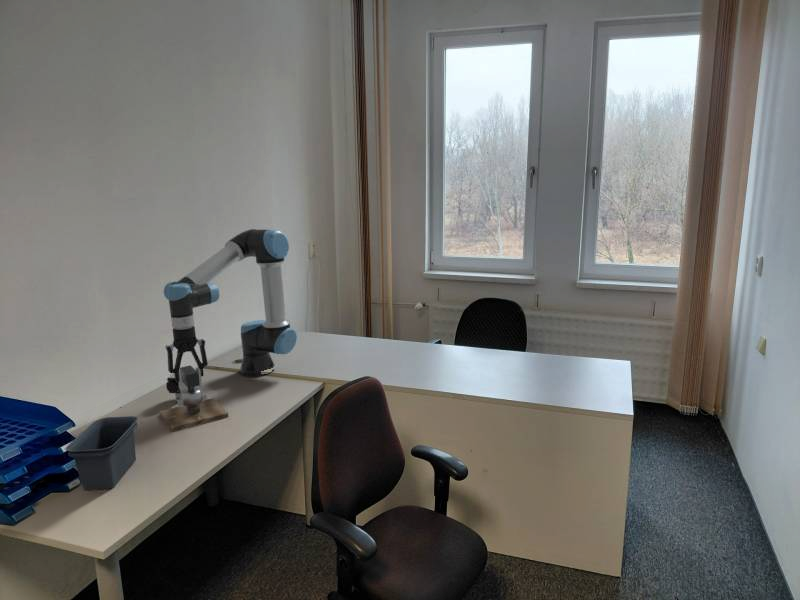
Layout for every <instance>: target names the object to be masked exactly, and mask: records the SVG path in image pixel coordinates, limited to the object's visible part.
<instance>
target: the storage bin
mask: <svg viewBox="0 0 800 600" xmlns="http://www.w3.org/2000/svg"><path fill="white" fill-rule="evenodd" d="M138 420H139V418H138V417H137V416H133V415H131V416H128V415H127V416H112V417H111V416H110V417H103V418H99V419H97V420H95V421H93V422H92V423H91V424H90V425H89V426H88V427H86V428H85V430H83V431H82V432H81V433H80V434H79V435H77V437H76V438H74V441H73V440H72V441H71V442H70V443H69V444H68V445H67V446H66V447H65V450H66V451H68V454H67V455H68V457H71V458H73V459H74V463H75V465H76V469H77V472H78V475H79V479H80V481H81V482H80V483H81V485H82V488H83V490H85V491H91V490H90V489H99V490H110V488H111V489H114V488H115V486H116V485H117V484H118V483H119V482H120V480H121V479H122V478H123V476H125V474H126V473H127V472H128V470H130V468H131V467H132V466H133V464H134V463H135V462H136V460H137V457H136V441H135V429H136V428H137V426H138Z"/></svg>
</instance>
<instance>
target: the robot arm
mask: <svg viewBox="0 0 800 600" xmlns="http://www.w3.org/2000/svg"><path fill="white" fill-rule="evenodd" d="M289 250H290V244H289V241H288V237H287V236H286V235H285V234H284V233H283V232H282V231H281V230H275V229H255V228H253V229H252V228H251V229H248V230H245V231H241V232H240V233H239V234H237V235H235V236H234V237H232V238H231V239H229V240H228V241H226V243H225V244H224V247H223V248H221V249H220V250H219V251H216V253H214V254H213V255H212V256H211V257H209V258H207V259H206V260H205V261H204V262H202V263H200V264H199V265H198V266H197V267H196V268H193V270H191V271H190V272H189V273H187V274H186V275H185V276H184V277H181V278H180V279H179V280H177V281H169V282H168V283H166V284H165V285H164V287H163V295H164V298H165V299H166V300H168V305H169V311H170V319H171V327H172V336H173V342H172V343H171V344H169V345H165V347H164V348H165V350H166V352H167V353H166V354H167V369H168V372H169V373H170V374H174V375H175V380H176V382H179V389H180V390H181V391H182V390H183V384H182V376H181V373H180V372H179V371H180V368H181V365H182V364H181V363H182V361H183V360H182V358H183V356H184V353H187V352H191V354H192V357H193V358H194V361H195V363H196V365H197V366H198V367H195V370H196V371H197V372H198V376H199V385H200V386H199V387H202V386H203V382H202V377H204V368H205V367H207V366H208V364H209V362H208V359H207V353H206V348H205V346H206V340H204V339H202V338H201V339H199V338H197V336H196V335H197V334H196V327H195V326H194V325H195V320H194V308H198V307H203V306H207V305H211V304H213V303H216V302H218V301H219V299H220V296H221V295H220V290H219V287H218V286H217V285H216V284H214V283H212V281H213V280H214V279H216V278H217V277H218V276H219V275H221V274H222V273H223V272H224V271H226V270H228V269H229V268H230V267H231V266H233V265H234V264H235V263H236V262H241V261H243V260H244V259H245V258H246V259H247V258H250V257H255V262H256V264H257V265H258V266H259V267H260V275H261V284H262V286H261V287H262V295H263V304H264V305H263V306H264V315H265V319H259V320H252V321H249V322H244V323H243V324H242V325H240V339H241V348H242V361H241V364H240V374H241V375H242V376H245V377H260V376H261V375H262V374H261V371H264V370H267V369H271V368H273V367H274V366H275V363H274V360H273V358H272V355H271V354H276V355H287V354H289V353H291V351H293V350H294V348H295V346H296V344H297V338H298V335H297V332H296V331H295V329H294V328H292V327H291V324H290V320H289V319H287V316H286V305H285V294H284V292H285V291H284V285H283V284H284V282H283V274H282V273H283V272H282V264H283V263H284V262H285V257H286V256H287V255H288V254H289V253H288V252H289ZM197 345H198V346H199V351H200V356H201V359H200V358H199V355H198V353H197V351H196V349H195V347H196V346H197ZM174 349H176V350H177V352H176V358H175V364H174V358H173V357H174V355H173V354H174V353H173V351H174ZM270 353H271V354H270ZM201 361H202V362H201ZM262 376H263V375H262Z"/></svg>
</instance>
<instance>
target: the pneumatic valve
mask: <svg viewBox="0 0 800 600" xmlns="http://www.w3.org/2000/svg"><path fill="white" fill-rule="evenodd" d="M179 372H180V370H179ZM166 380H167V382H166V383H165V385H166V390H167V391H168V393H169V394H174V395H175V401H176V402H177V401H178V400H182V396H181V390H180V389H179V382H176V380H175V375H174V373H171V374H170V376H168V377H167V379H166ZM182 384H183V390H184V389H186V388H187V386H186V385H185V384H184V383H183V382H182Z"/></svg>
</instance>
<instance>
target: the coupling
mask: <svg viewBox="0 0 800 600" xmlns="http://www.w3.org/2000/svg"><path fill="white" fill-rule="evenodd" d="M179 371H180V373H181V376H182V382H183V383H184V384H185V385H186V386H187V388H186V389H184V390H182V391H181V396H182V400H178V401H176V402H177V405H178V406H177V407H179V406H183V405H184V406H195V405H198V404H200V403H202V401H203V400H207V399H208V396H207V394H206V393H204V394H203V393H202V392H203V391H202V388H201V386H200V385H199V376H198V372H197V371H196V368H194V367H193V366H192V365H187V366H182V367H181V366H180V369H179Z"/></svg>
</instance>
